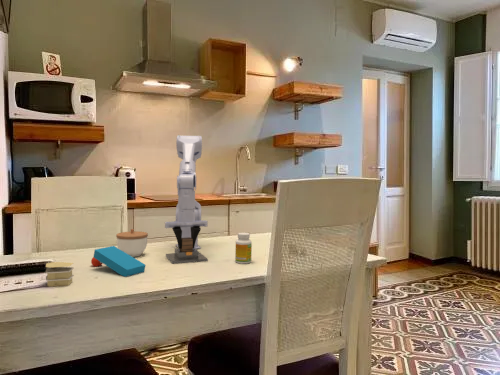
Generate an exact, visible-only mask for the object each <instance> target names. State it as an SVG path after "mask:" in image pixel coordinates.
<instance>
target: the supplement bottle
mask: <svg viewBox="0 0 500 375" xmlns="http://www.w3.org/2000/svg"><path fill="white" fill-rule="evenodd" d="M250 236H251V234H250V233H248V232H237V238H238V239H236V241H235V258H234V259H235V263H237V264H243V265H246V264H251V263H252V246H253V243H252V240H251V239H250V238H251V237H250Z"/></svg>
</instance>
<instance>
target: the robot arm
mask: <svg viewBox="0 0 500 375" xmlns="http://www.w3.org/2000/svg"><path fill="white" fill-rule="evenodd" d="M175 142H176V154H177V157H178V158H179V159H181V161H180V163H179V170H178V175H177V176H176V189H177V196H178V197H177V198H178V199H177V200H178V201H177V204H176V207H175V208H176V209H175V220H174V221H173V220H171V221H165V222H164V228H165V229H172V231H173V233H174V236H175V239H176V242H177V243H176V244H175V246H176V247H177V248H179V249H182V241H181V239H182V238H188V237H190V238H192V239H193V248H195V249H196V250H198V249H199V250H200V249H201V248H202V247H201V246H199V239H198V238H199V234H200V232H201V228H202V227H208V223H209V222H208V220H202V205H201V204H200V203H199V202H198V201H197V200H196V191H197V175H196V174H197V173H196V172H197V171H196V168H197V167H196V166H197V165H196V162H197V160H199V159H201V157H202V151H203V150H202V149H203V137H202V135H180V134H178V135H177V136H176V141H175Z"/></svg>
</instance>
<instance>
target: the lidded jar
mask: <svg viewBox="0 0 500 375" xmlns="http://www.w3.org/2000/svg"><path fill="white" fill-rule="evenodd" d="M134 230H135V229H134V228H131V229H130V231H122V232H118V233H116V236H115V237H116V246H117V248H118V249H120V250H122V251H123V252H125V253H127V254H128V255H130V256H132V257H133V258H138V257H140V256H142V254H143V253H144V252H145V250H146V248H147V246H148V236H149V234H148V232H147V231H146V232H145V231H134Z"/></svg>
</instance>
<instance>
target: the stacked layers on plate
mask: <svg viewBox="0 0 500 375" xmlns="http://www.w3.org/2000/svg"><path fill="white" fill-rule="evenodd" d="M73 264H74V262H64V261H63V262H62V261H56V262H55V261H52V262H46V264H45V274H47V275H46V277H45V281H47V287H50V288H51V287H58V286H59V287H60V286H61V287H64V286H70V284H72V283H73V277H74V276H75V275H74V274H73V270H74V269H75V268H74V267H72V265H73ZM70 266H71V267H70Z"/></svg>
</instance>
